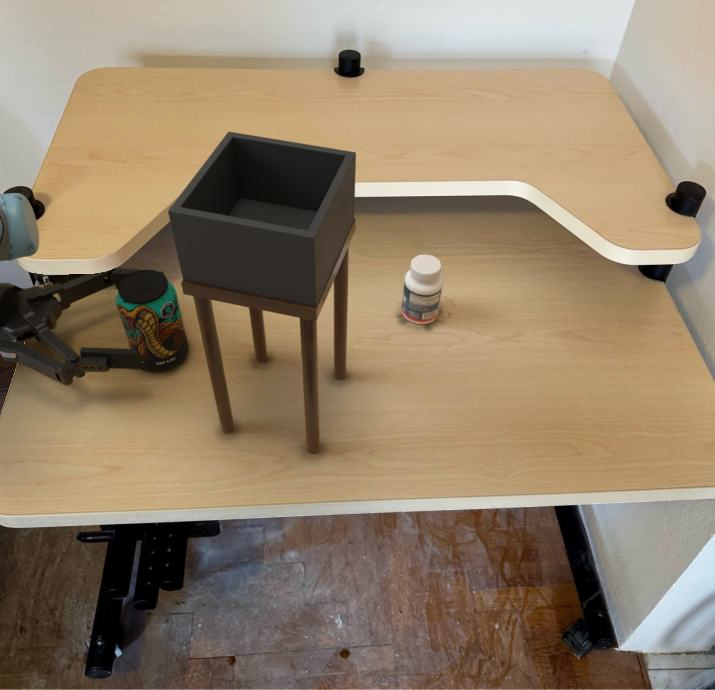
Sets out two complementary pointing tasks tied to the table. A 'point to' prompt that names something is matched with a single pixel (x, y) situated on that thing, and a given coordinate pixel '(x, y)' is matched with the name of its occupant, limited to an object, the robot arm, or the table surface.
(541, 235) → the table surface
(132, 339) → the beverage can
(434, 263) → the pill bottle
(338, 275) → the stool
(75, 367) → the robot arm
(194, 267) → the trash bin
